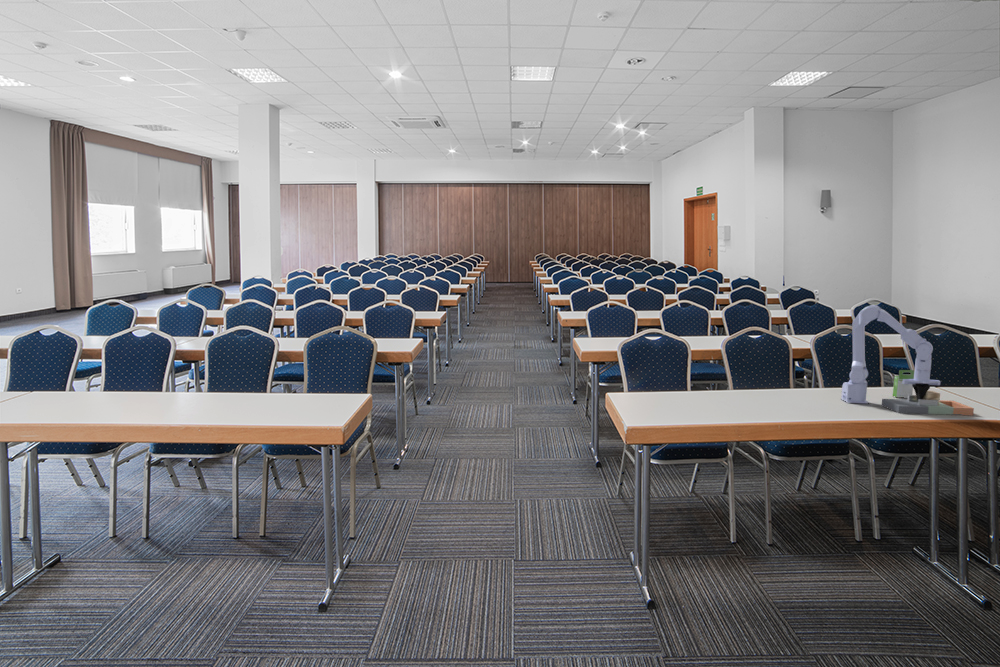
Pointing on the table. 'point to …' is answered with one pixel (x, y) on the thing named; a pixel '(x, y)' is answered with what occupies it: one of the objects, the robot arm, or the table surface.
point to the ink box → (900, 388)
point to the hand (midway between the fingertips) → (919, 401)
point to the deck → (927, 407)
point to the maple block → (932, 395)
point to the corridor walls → (923, 401)
